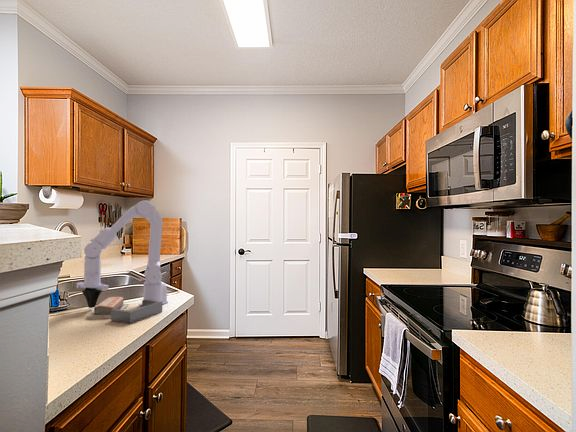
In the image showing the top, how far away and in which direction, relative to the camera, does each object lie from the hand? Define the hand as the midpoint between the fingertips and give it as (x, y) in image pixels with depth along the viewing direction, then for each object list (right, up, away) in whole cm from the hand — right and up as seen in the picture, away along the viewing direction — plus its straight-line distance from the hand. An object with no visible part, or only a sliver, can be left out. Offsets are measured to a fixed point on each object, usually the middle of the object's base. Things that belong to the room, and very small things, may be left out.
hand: (91, 307), depth 141 cm
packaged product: (+8, -2, -3) cm, 9 cm away
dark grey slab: (+21, -1, -7) cm, 22 cm away
